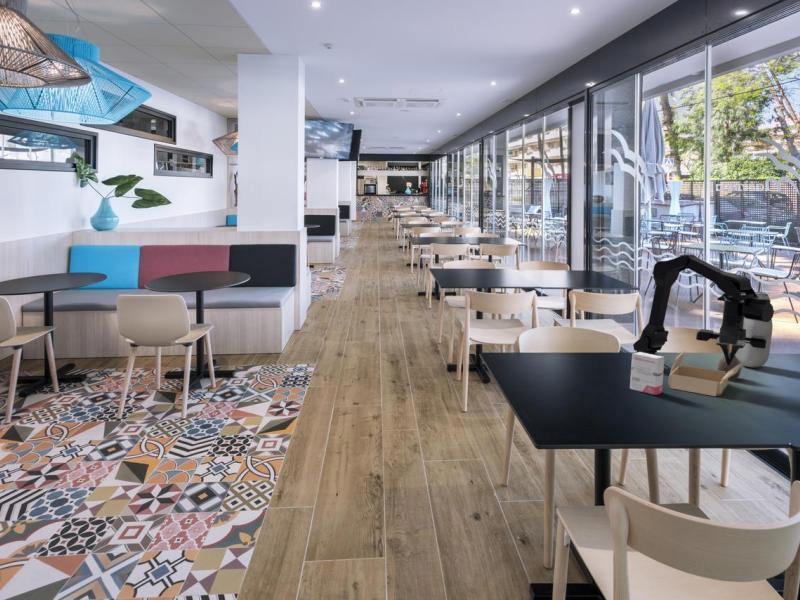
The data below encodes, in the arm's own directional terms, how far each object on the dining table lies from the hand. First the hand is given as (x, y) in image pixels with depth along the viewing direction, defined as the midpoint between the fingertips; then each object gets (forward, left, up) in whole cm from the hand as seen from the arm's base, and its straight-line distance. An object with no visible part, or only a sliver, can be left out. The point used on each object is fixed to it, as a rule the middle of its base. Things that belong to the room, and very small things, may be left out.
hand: (728, 364), depth 173 cm
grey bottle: (+3, +38, -9) cm, 39 cm away
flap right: (-1, 0, -4) cm, 4 cm away
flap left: (-15, 0, -4) cm, 16 cm away
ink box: (-20, -16, -9) cm, 27 cm away
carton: (-8, 0, -9) cm, 12 cm away
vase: (-2, +16, -9) cm, 19 cm away
